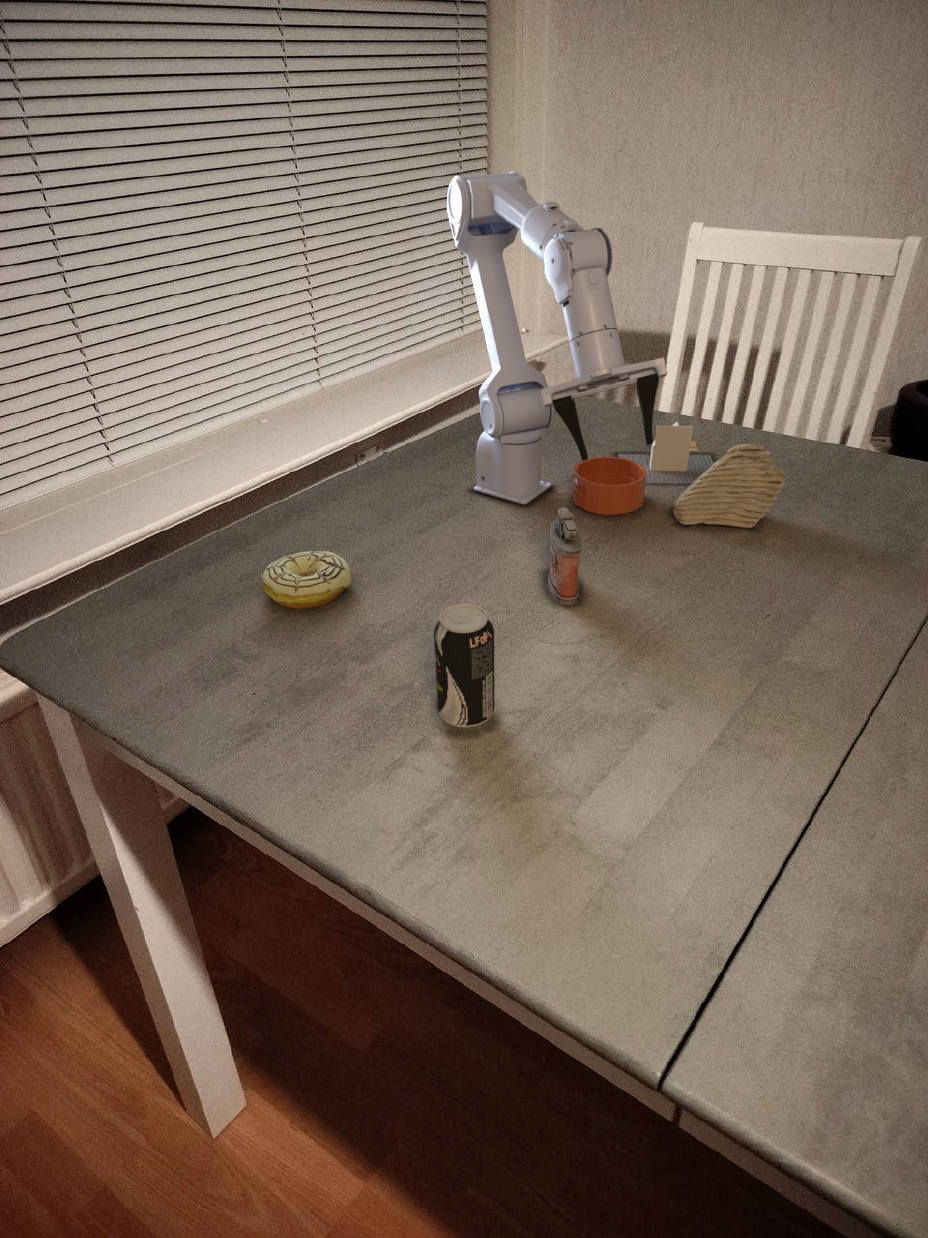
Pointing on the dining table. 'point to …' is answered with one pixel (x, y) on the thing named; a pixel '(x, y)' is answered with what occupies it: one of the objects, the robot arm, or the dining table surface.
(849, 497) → the dining table surface
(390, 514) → the dining table surface
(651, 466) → the architectural model
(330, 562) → the decorated donut
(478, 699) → the beverage can
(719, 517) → the fossil tooth
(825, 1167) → the dining table surface
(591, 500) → the bowl
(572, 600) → the lighter
